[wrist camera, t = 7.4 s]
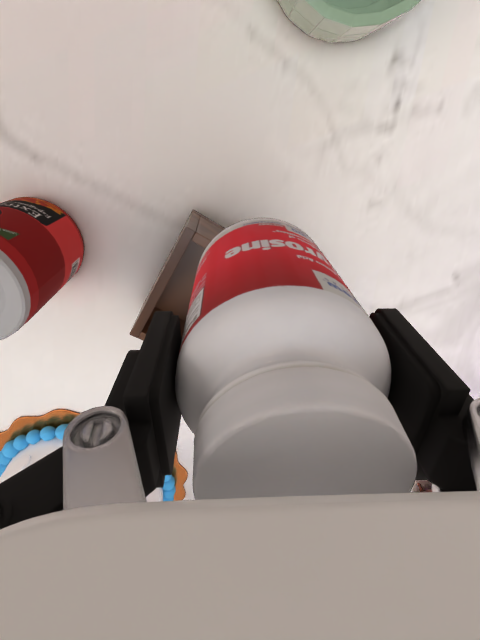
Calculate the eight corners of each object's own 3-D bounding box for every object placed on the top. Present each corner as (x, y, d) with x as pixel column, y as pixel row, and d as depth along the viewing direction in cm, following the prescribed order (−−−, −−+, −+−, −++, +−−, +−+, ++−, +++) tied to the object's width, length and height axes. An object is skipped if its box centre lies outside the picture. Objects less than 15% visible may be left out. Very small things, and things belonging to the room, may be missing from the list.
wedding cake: (-39, 401, 40) (-206, 575, 25) (193, 419, 43) (174, 584, 27) (8, 526, 54) (-79, 687, 39) (181, 533, 57) (164, 686, 41)
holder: (143, 304, 34) (129, 334, 29) (193, 209, 30) (186, 226, 25) (235, 348, 37) (236, 382, 32) (293, 268, 33) (304, 294, 28)
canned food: (69, 190, 28) (-9, 223, 19) (98, 276, 32) (45, 338, 23) (-18, 199, 29) (-140, 236, 19) (21, 283, 33) (-63, 349, 23)
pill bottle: (344, 239, 16) (530, 423, 6) (290, 342, 18) (360, 575, 9) (218, 194, 14) (202, 333, 5) (182, 311, 17) (128, 545, 8)
